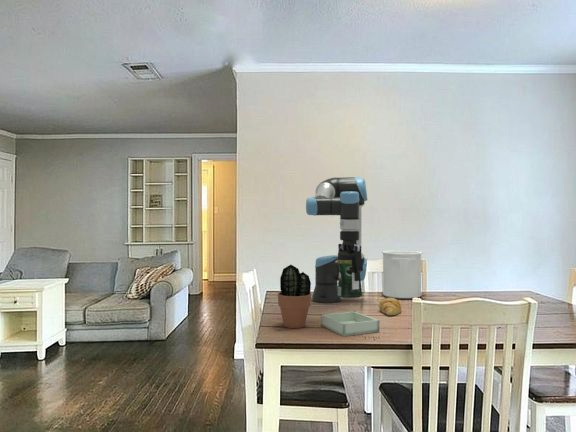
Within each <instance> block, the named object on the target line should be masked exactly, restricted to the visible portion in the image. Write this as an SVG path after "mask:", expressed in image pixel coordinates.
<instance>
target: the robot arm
mask: <svg viewBox="0 0 576 432" xmlns="http://www.w3.org/2000/svg"><path fill="white" fill-rule="evenodd" d="M305 200H306V203H305V210H306V215H308V216H314V217H316V216H339V229H340V231H339V240H340V241H342V243H338V244H337V245H338V251H337V253H338V252H339V251H348V253H349V254H350V255H351V254H354V256H355V258H353V257H352V268H353V271H352V289H353V290H354V289H359V272H360V279H361V282H362V281H364V280H365V278H366V274H367V265H368V258H365V254H364V253H362V208H363V206H365V203H366V201H368V193H367V185H366V180H365V179H364V177H358V176H357V177H356V176H352V177H350V176H347V177H344V176H343V177H331V178H327V179H324V180H323V181H321V182H319V184H318V185H317V186H316V189H315V195H314V196H312V197H307V198H306V199H305ZM337 257H338V254H337V255H333V254H332V255H324V256H319V257H317V258H316V259H315V266H314V268H315V286H314V289H313V292H312V294H311V302H312V301H313V302H316V303H320V304H321V303H325V304H333V303H339V302H341V301H342V297H339V296H338V295H337V290H338V279H339V265H338V262H337Z"/></svg>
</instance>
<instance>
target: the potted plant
mask: <svg viewBox="0 0 576 432" xmlns="http://www.w3.org/2000/svg"><path fill="white" fill-rule="evenodd" d="M279 280H280V281H279V282H280V283H279V284H280V289H279V290H280V292H278V293H277V302H278V303H277V304H278V306H279V308H280V314H281V319H282V324H283V326H284V327H285V328H289V329H301V328H304V327H305V326H306V324H307V323H306V322H307V319H308V318H307V317H308V314H309V313H308V312H309V307H310V306H311V303H312V293H311V288H312V287H311V285H312V282H311V279H310V275H308V274H306V273H305V272H304V271H302V272H300V269H299V268H297V267H296V266H294V265H293V264H289V265H287V266H286V267H284V268H283V269H282V271H281V275H280V278H279Z"/></svg>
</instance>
